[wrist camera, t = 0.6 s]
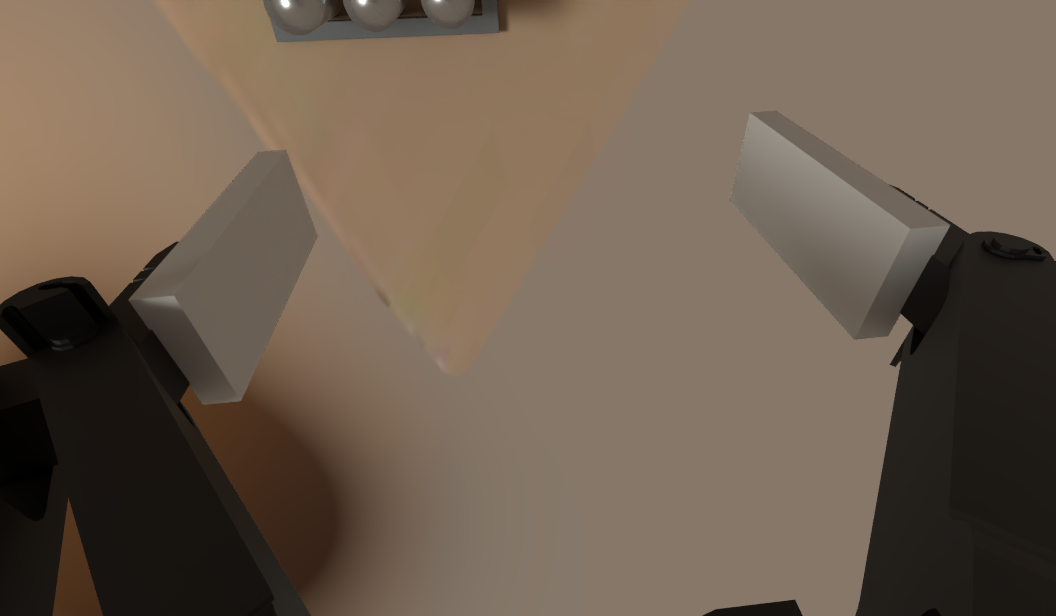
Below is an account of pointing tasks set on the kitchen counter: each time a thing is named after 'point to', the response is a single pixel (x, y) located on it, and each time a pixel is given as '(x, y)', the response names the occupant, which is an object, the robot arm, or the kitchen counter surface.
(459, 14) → the spacers
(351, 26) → the parts tray rim
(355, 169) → the kitchen counter surface
